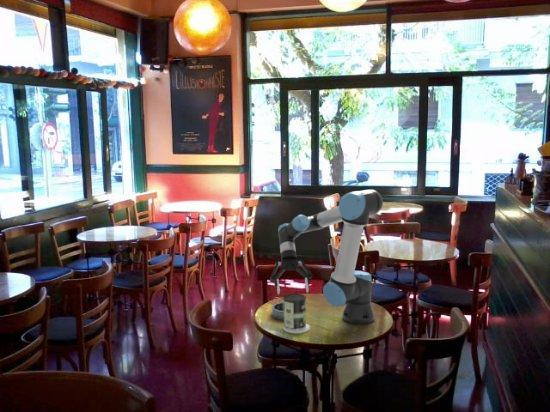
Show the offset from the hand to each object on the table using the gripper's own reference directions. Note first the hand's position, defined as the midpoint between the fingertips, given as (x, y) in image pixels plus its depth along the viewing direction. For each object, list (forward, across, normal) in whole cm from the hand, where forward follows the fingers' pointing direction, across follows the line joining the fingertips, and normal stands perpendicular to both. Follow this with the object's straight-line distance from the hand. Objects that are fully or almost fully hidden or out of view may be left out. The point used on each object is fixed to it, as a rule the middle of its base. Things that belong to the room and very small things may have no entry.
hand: (293, 292), depth 247 cm
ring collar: (+2, +1, -20) cm, 20 cm away
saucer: (+15, 0, -7) cm, 17 cm away
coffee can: (+14, 0, -7) cm, 16 cm away
